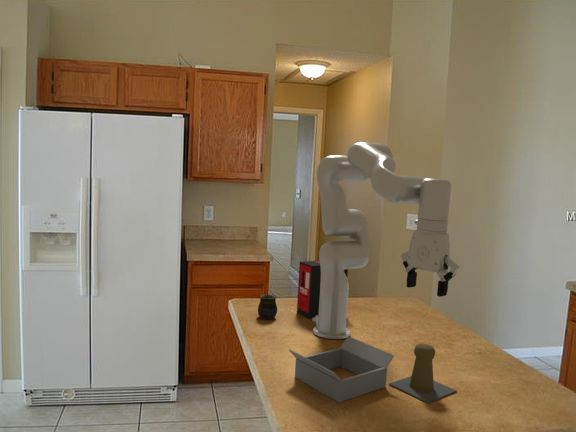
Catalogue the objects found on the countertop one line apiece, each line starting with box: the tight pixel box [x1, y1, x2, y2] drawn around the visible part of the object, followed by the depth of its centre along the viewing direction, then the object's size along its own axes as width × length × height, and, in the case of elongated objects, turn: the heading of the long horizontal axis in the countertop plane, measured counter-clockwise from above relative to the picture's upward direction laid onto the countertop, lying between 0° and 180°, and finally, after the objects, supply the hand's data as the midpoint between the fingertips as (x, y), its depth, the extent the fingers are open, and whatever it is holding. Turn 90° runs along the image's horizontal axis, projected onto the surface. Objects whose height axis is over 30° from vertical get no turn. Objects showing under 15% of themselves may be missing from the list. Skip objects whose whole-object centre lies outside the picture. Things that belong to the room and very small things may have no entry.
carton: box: [288, 336, 395, 403], centre depth 126 cm, size 17×22×8 cm
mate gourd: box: [257, 293, 278, 320], centre depth 179 cm, size 7×8×10 cm
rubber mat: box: [388, 375, 458, 404], centre depth 125 cm, size 12×12×1 cm
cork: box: [410, 343, 436, 392], centre depth 124 cm, size 6×6×11 cm
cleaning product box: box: [296, 260, 349, 320], centre depth 188 cm, size 16×9×20 cm, turn 120°
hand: (425, 291), depth 127 cm, fingers open, 9 cm apart
